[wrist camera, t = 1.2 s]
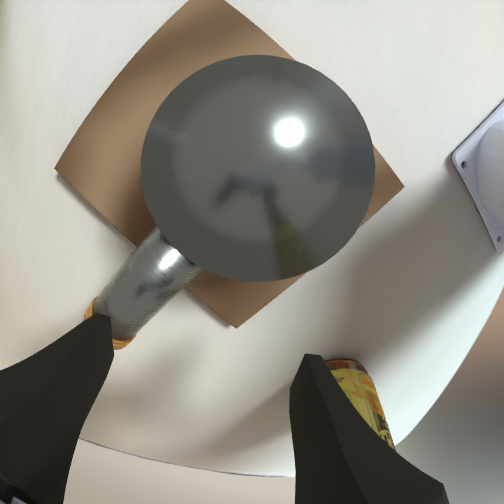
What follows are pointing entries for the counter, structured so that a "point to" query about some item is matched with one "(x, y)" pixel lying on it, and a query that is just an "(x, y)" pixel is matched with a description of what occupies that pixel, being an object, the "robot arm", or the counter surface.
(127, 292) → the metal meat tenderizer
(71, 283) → the counter surface
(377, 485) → the robot arm
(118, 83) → the thin wooden panel
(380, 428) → the sauce bottle
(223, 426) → the counter surface
